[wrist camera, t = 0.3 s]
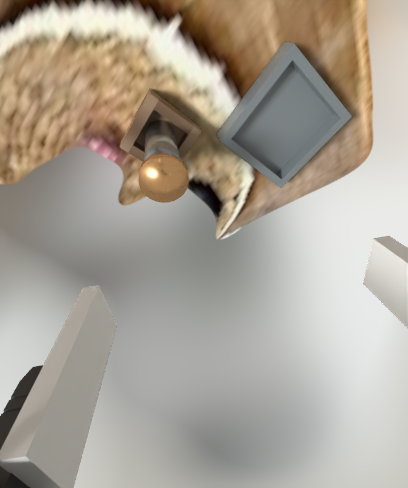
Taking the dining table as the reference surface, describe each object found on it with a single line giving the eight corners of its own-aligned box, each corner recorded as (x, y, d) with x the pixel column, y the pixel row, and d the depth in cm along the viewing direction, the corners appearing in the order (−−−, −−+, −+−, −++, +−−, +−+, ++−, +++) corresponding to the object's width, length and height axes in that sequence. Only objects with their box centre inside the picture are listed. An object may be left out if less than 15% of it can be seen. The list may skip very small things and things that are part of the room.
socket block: (149, 88, 29) (149, 93, 27) (198, 126, 32) (201, 132, 31) (121, 140, 32) (119, 147, 30) (168, 169, 36) (169, 177, 34)
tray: (284, 41, 28) (294, 43, 26) (341, 111, 34) (351, 116, 32) (216, 134, 33) (219, 141, 32) (274, 180, 39) (281, 188, 38)
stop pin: (153, 108, 30) (155, 147, 21) (185, 130, 32) (198, 174, 23) (135, 139, 32) (129, 187, 23) (166, 159, 34) (171, 209, 25)
